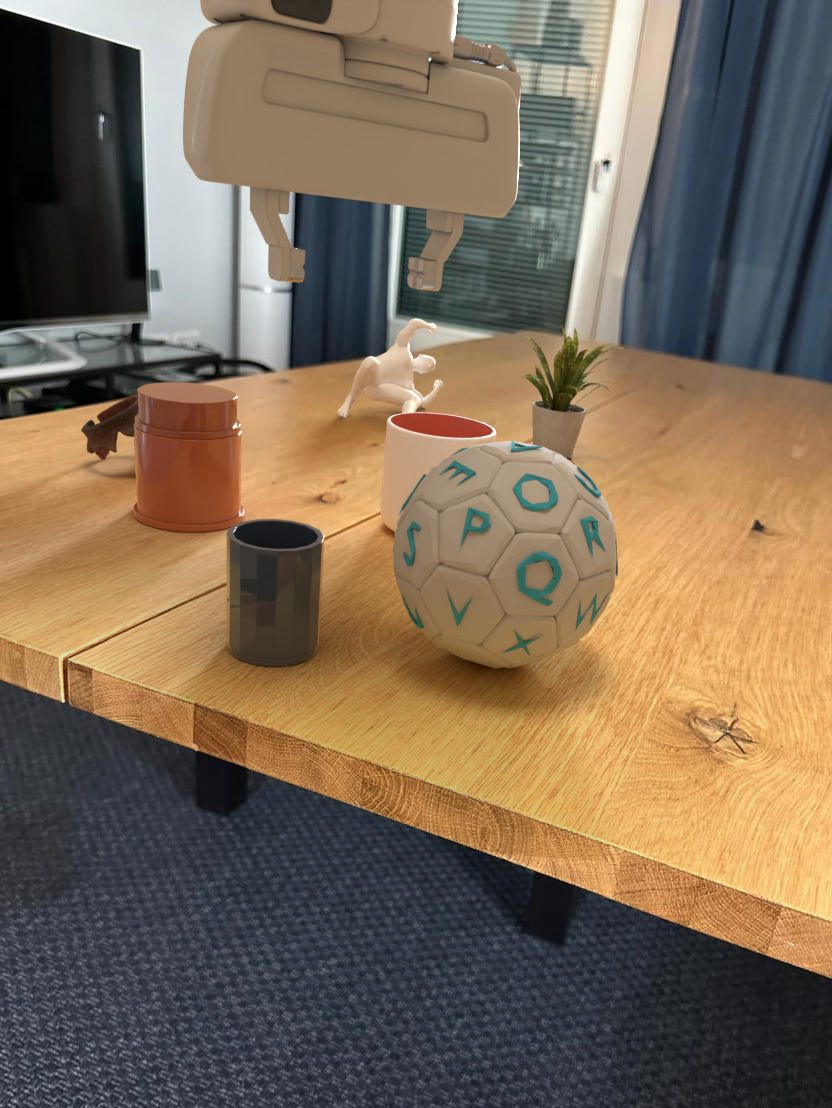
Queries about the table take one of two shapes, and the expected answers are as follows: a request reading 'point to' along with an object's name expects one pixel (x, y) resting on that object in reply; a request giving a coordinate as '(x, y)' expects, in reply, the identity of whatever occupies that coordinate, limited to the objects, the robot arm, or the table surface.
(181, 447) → the orange stepped cylinder
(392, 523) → the cup
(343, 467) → the table surface
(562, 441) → the house plant
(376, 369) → the person figurine
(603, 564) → the puzzle ball
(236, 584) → the slate cup
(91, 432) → the dark brown jagged part
